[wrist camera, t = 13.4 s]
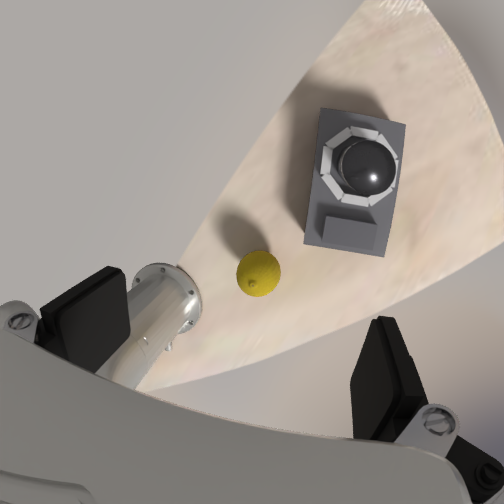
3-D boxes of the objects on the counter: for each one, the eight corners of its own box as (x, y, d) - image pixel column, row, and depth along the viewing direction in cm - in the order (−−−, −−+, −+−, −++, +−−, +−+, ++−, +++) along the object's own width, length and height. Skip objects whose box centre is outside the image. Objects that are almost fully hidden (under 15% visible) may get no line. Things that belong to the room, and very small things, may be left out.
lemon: (281, 282, 42) (274, 309, 35) (243, 278, 43) (229, 303, 36) (284, 245, 41) (278, 265, 33) (244, 241, 42) (229, 260, 34)
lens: (388, 163, 30) (406, 165, 23) (361, 196, 32) (373, 206, 25) (354, 134, 30) (364, 128, 23) (327, 168, 32) (331, 171, 25)
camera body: (376, 245, 38) (386, 261, 32) (304, 233, 40) (302, 247, 34) (394, 128, 33) (409, 123, 27) (319, 113, 34) (321, 105, 28)
